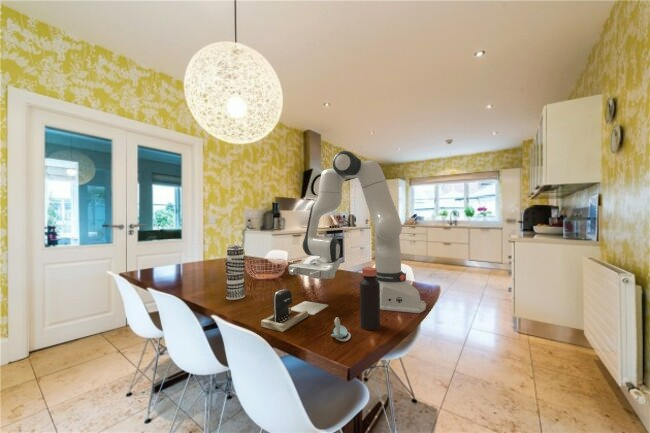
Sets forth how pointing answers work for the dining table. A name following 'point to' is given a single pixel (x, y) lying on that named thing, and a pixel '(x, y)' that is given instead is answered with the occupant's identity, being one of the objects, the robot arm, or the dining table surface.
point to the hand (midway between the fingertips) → (300, 273)
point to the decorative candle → (235, 272)
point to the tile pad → (309, 307)
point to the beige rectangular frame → (287, 324)
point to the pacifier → (340, 331)
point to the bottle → (369, 300)
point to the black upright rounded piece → (282, 305)
